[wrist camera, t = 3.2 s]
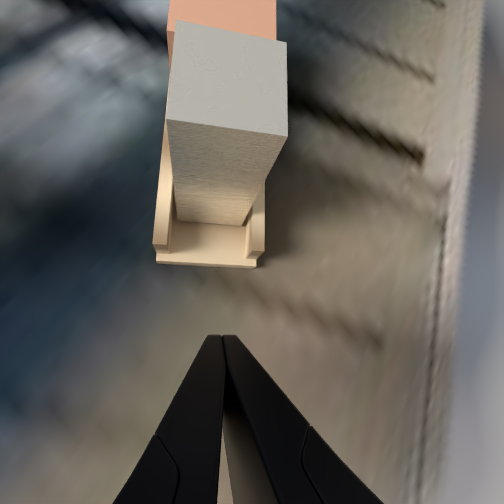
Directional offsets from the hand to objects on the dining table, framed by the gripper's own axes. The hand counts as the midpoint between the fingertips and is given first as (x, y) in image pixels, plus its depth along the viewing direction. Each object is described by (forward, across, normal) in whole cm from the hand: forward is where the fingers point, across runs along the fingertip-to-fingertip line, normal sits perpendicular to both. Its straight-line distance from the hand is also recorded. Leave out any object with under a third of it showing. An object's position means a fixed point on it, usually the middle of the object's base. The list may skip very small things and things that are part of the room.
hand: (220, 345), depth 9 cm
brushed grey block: (+16, 0, +1) cm, 16 cm away
